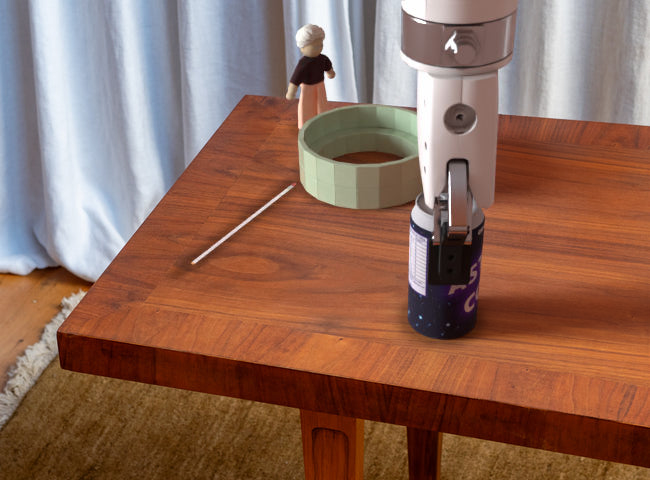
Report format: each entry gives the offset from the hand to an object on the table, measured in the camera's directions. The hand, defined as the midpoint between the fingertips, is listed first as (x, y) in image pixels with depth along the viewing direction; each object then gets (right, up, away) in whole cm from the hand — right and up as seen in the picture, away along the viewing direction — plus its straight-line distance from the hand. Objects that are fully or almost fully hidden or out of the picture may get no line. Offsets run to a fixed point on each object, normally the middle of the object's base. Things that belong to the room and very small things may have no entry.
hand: (445, 257), depth 70 cm
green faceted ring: (-5, +10, +24) cm, 27 cm away
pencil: (-17, +4, +17) cm, 25 cm away
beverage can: (0, -6, +4) cm, 7 cm away
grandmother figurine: (-10, +17, +34) cm, 40 cm away
